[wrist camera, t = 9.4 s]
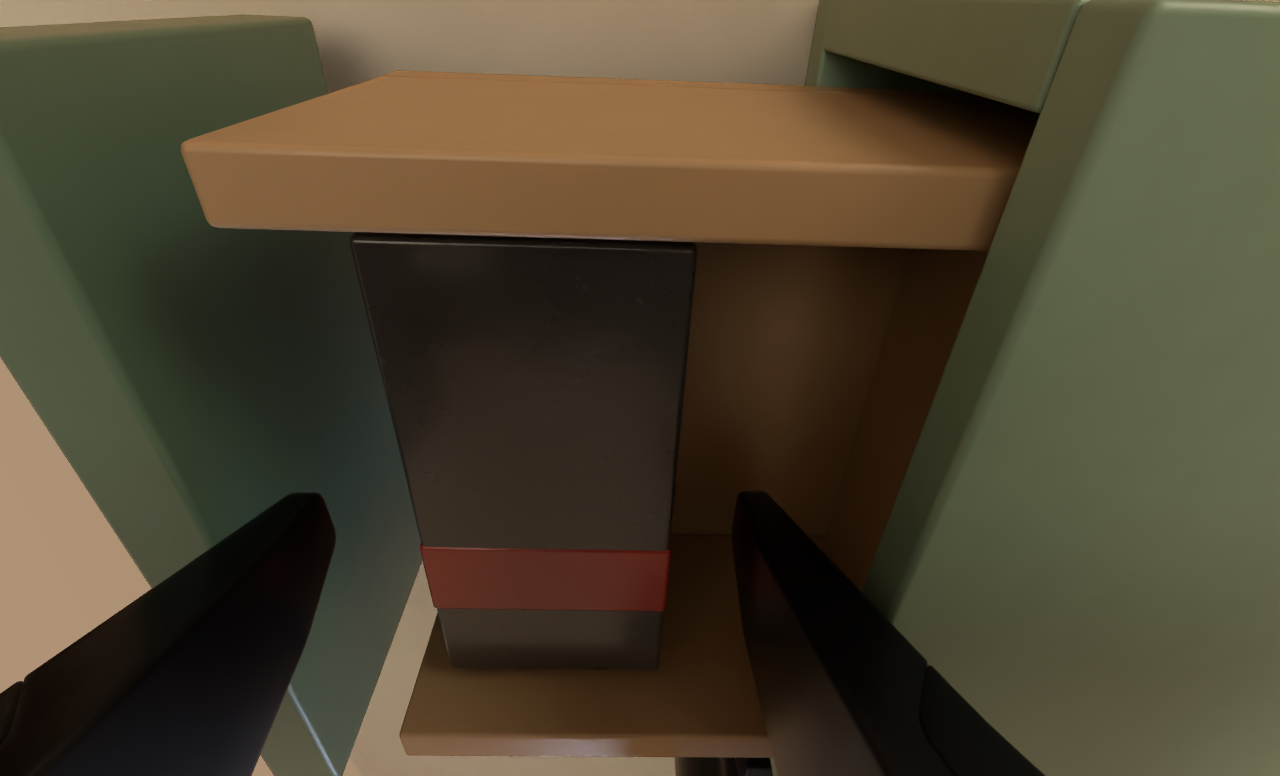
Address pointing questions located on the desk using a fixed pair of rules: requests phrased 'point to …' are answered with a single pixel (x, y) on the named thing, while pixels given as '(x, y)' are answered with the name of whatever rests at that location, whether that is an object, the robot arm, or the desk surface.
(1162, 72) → the cabinet
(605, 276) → the black red-striped block
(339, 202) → the drawer
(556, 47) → the desk surface
